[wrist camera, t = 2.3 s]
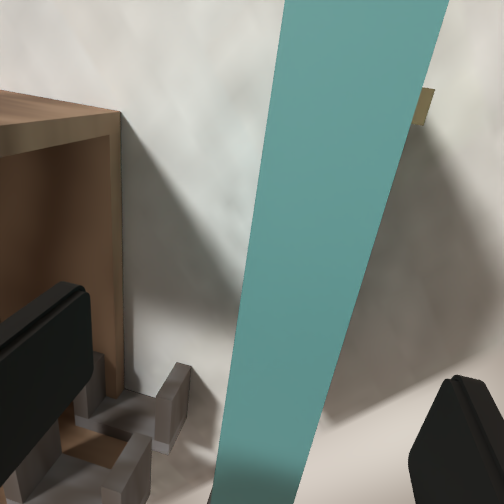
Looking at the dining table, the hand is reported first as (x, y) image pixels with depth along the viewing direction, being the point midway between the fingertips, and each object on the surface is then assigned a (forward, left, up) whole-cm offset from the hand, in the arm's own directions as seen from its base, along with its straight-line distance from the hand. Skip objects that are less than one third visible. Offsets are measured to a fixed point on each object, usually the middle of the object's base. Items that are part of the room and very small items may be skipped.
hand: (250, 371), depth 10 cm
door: (-1, -1, -10) cm, 10 cm away
